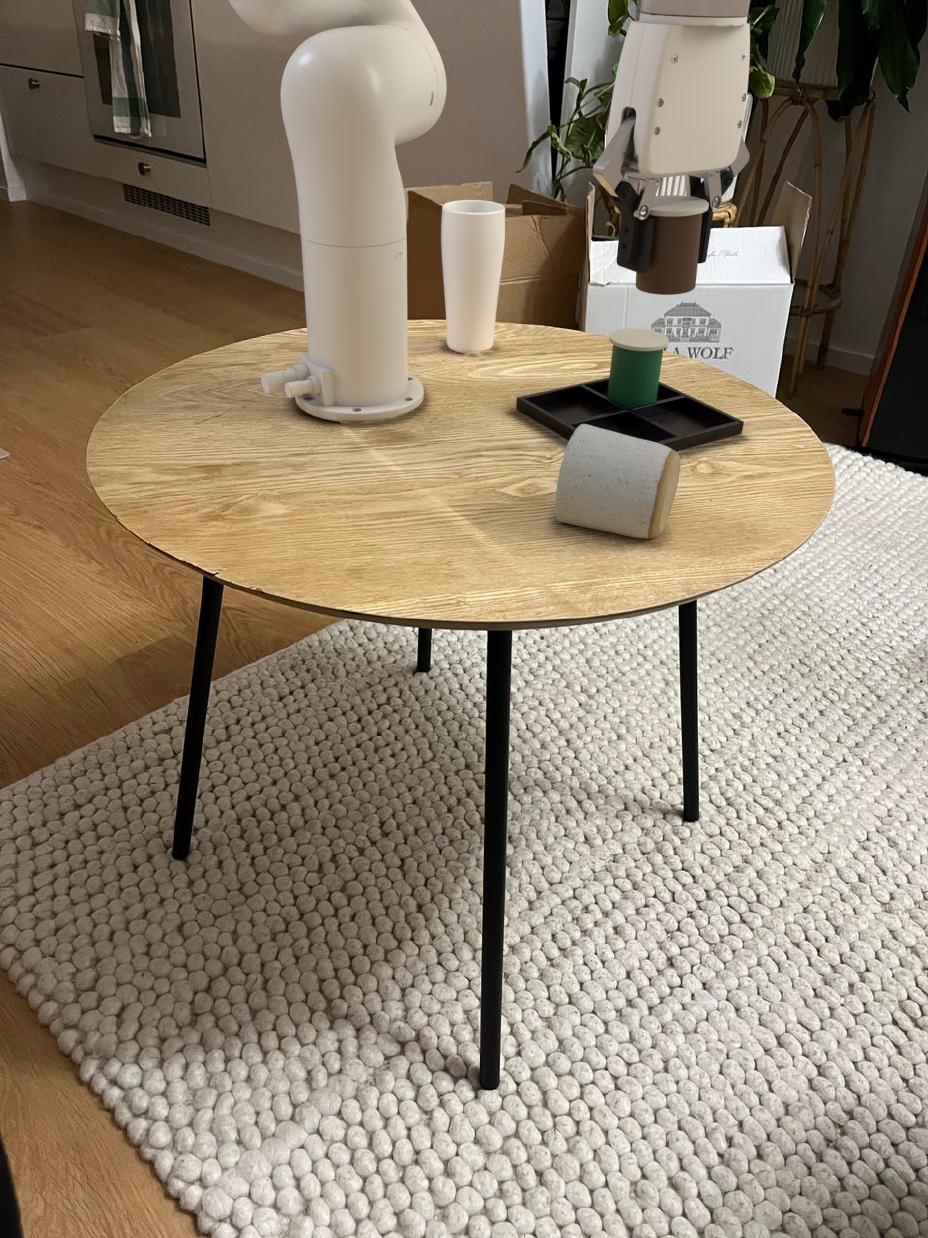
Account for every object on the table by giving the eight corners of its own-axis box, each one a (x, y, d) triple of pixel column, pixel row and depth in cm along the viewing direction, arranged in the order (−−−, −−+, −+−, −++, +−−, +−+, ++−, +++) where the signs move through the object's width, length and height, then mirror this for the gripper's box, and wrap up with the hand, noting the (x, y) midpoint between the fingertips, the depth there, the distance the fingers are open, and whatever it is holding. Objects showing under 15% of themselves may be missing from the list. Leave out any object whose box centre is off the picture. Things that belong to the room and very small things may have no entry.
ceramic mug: (655, 559, 74) (670, 463, 69) (549, 538, 76) (557, 443, 72) (681, 501, 82) (696, 412, 78) (585, 483, 84) (594, 396, 80)
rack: (615, 473, 86) (617, 455, 85) (515, 413, 96) (516, 397, 95) (741, 438, 93) (744, 421, 92) (635, 386, 103) (637, 370, 102)
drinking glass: (502, 339, 115) (508, 200, 106) (497, 359, 109) (504, 214, 101) (443, 336, 115) (445, 198, 107) (436, 355, 110) (437, 211, 101)
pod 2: (662, 300, 78) (669, 214, 74) (616, 284, 82) (620, 202, 78) (715, 287, 80) (724, 203, 77) (667, 272, 84) (674, 191, 80)
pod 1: (627, 416, 95) (635, 350, 92) (591, 397, 99) (597, 333, 96) (671, 405, 98) (681, 341, 94) (634, 387, 102) (642, 324, 98)
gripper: (743, -4, 77) (705, 242, 87) (566, -4, 69) (547, 266, 79) (819, 1, 71) (770, 262, 81) (637, 1, 64) (608, 290, 74)
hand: (661, 261), depth 80 cm, fingers closed on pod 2, 5 cm apart
